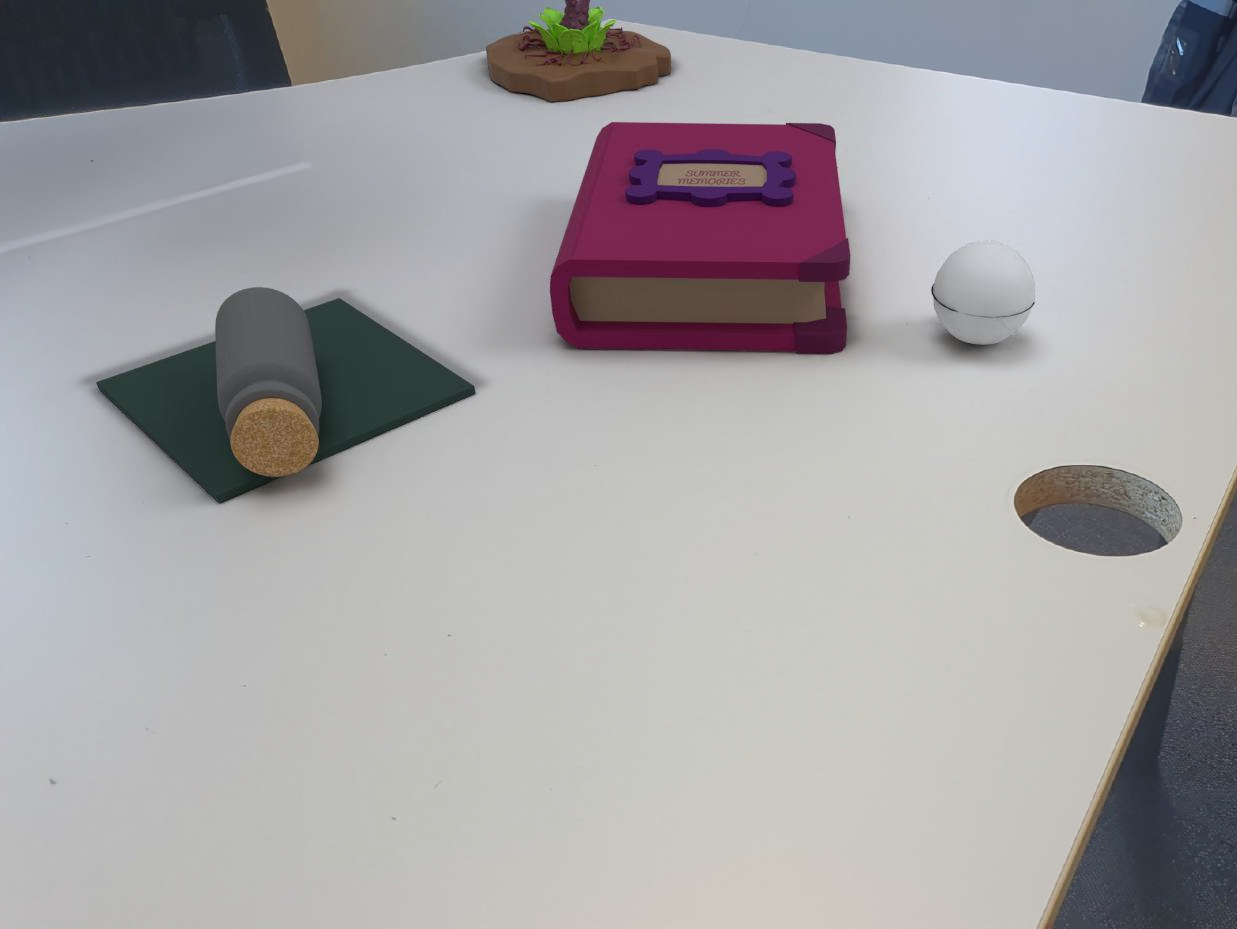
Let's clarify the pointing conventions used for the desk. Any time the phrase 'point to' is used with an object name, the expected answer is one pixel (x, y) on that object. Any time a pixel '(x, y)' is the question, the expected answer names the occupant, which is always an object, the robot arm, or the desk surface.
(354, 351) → the mat
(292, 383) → the bottle
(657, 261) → the book
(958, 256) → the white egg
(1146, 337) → the desk surface
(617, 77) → the plant
